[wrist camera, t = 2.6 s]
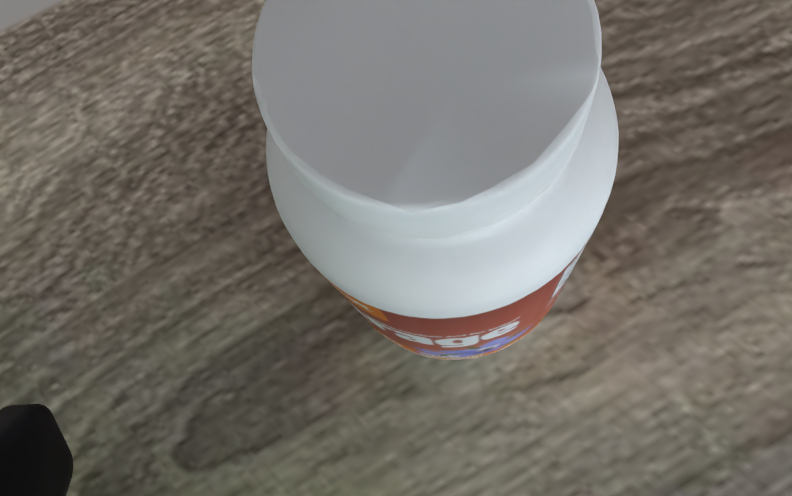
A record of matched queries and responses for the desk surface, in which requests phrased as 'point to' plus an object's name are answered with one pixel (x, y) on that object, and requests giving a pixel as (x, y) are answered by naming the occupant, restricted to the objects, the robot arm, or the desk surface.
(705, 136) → the desk surface
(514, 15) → the pill bottle
